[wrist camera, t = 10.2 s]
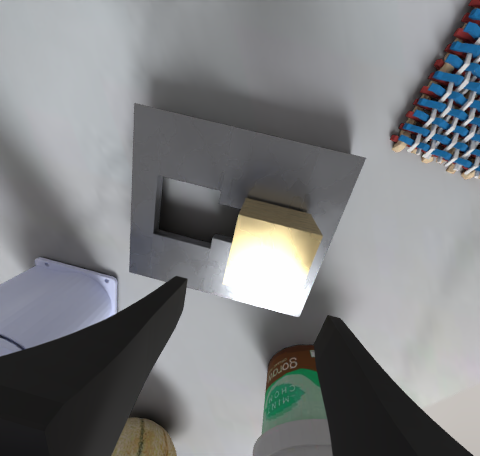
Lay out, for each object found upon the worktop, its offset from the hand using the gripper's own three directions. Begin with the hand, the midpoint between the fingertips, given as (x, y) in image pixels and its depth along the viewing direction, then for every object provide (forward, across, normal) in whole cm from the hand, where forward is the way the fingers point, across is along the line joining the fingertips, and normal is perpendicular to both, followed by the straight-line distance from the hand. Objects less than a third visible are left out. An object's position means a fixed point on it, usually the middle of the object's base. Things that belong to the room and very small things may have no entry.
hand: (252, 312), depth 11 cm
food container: (+11, -7, +15) cm, 20 cm away
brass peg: (+10, 0, -2) cm, 10 cm away
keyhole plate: (+10, +3, -1) cm, 11 cm away
